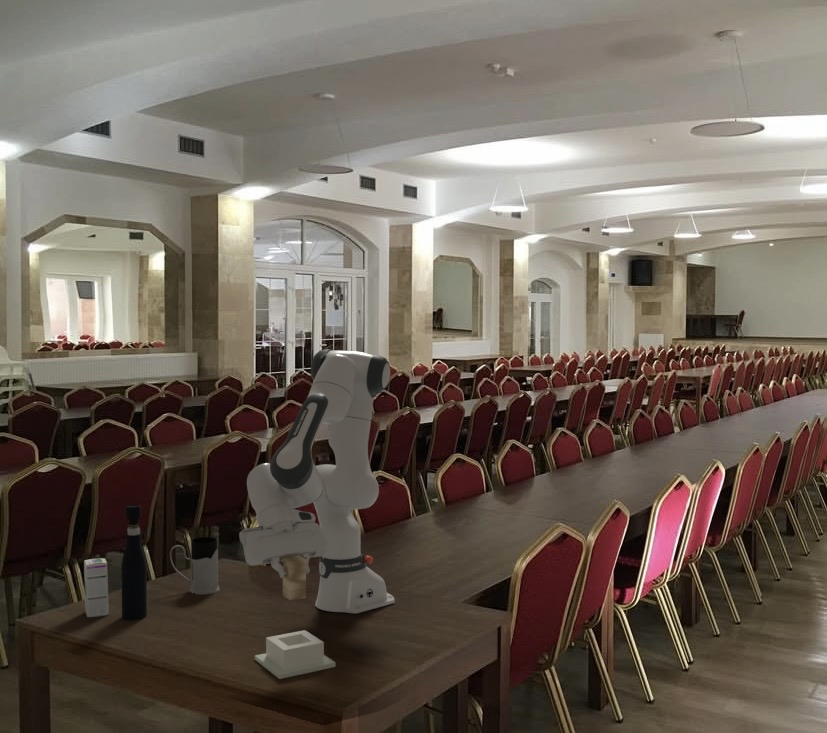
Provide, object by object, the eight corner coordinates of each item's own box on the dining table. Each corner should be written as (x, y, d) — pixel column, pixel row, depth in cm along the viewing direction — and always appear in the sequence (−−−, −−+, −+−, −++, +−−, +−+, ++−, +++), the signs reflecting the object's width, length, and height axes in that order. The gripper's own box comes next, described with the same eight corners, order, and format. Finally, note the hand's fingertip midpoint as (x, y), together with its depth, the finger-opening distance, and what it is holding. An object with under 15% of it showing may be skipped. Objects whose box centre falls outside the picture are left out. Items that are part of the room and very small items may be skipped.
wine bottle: (133, 621, 246) (132, 509, 244) (116, 617, 249) (115, 506, 248) (151, 615, 251) (150, 505, 250) (135, 611, 254) (134, 502, 253)
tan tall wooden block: (298, 593, 218) (298, 555, 218) (305, 597, 215) (306, 559, 214) (282, 596, 216) (282, 557, 215) (290, 600, 212) (290, 561, 212)
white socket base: (308, 648, 226) (308, 626, 225) (335, 666, 214) (335, 643, 214) (254, 659, 218) (254, 636, 218) (279, 679, 206) (279, 654, 206)
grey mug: (219, 593, 272) (219, 542, 271) (169, 596, 269) (169, 544, 268) (219, 585, 280) (219, 535, 279) (170, 587, 277) (170, 538, 276)
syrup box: (109, 615, 251) (108, 562, 250) (86, 618, 249) (85, 564, 248) (106, 609, 256) (106, 557, 256) (84, 611, 254) (83, 559, 253)
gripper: (240, 521, 215) (257, 573, 207) (320, 513, 226) (338, 561, 218) (233, 537, 219) (249, 588, 211) (311, 527, 230) (329, 576, 222)
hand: (295, 574), depth 215 cm, fingers closed on tan tall wooden block, 4 cm apart
